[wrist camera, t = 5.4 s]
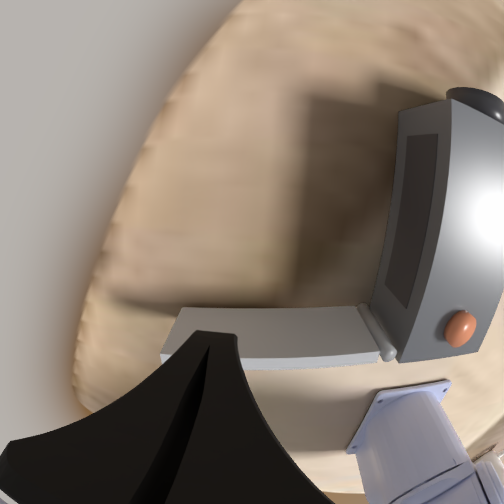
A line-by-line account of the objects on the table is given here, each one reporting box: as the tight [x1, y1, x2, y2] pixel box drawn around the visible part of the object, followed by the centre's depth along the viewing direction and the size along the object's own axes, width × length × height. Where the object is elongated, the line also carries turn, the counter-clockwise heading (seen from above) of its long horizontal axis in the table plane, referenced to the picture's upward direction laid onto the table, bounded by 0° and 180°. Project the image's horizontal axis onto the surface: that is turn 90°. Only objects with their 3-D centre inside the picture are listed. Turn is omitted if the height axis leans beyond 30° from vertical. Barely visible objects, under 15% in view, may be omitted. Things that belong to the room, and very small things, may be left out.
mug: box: [473, 449, 504, 487], centre depth 23 cm, size 12×8×10 cm
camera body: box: [369, 87, 504, 363], centre depth 11 cm, size 14×6×6 cm, turn 176°
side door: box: [160, 303, 397, 370], centre depth 14 cm, size 11×1×5 cm, turn 91°
